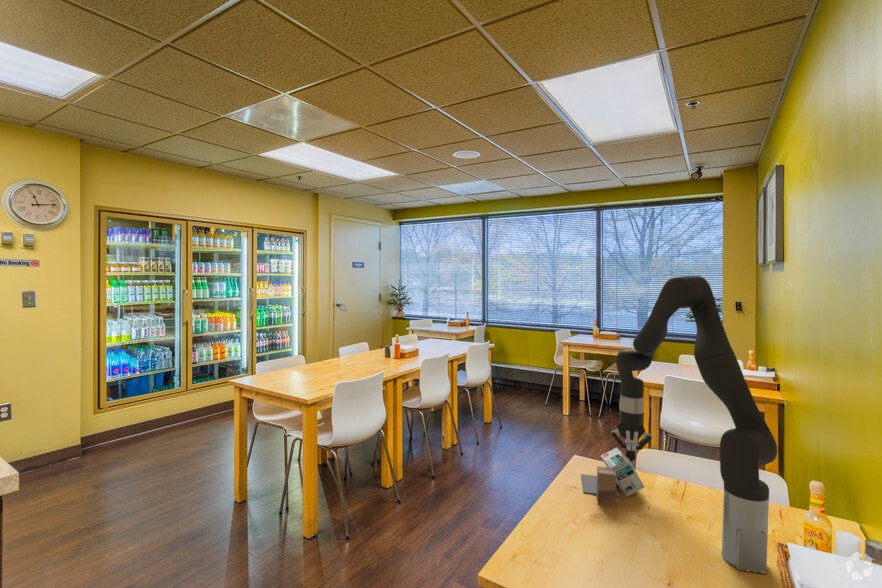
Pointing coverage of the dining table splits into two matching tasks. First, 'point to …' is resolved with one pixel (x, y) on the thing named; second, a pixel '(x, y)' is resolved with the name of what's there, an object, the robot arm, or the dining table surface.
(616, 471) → the light bulb box
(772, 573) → the dining table surface
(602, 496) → the walnut block
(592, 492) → the mat
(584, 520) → the dining table surface
